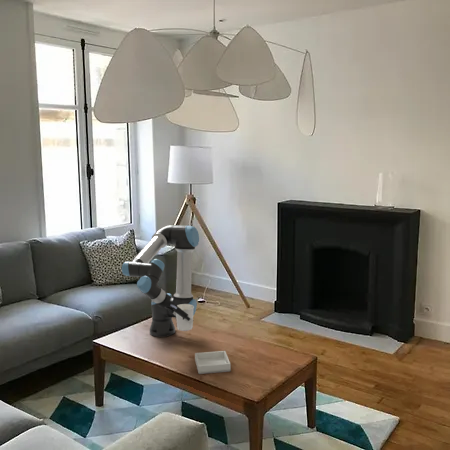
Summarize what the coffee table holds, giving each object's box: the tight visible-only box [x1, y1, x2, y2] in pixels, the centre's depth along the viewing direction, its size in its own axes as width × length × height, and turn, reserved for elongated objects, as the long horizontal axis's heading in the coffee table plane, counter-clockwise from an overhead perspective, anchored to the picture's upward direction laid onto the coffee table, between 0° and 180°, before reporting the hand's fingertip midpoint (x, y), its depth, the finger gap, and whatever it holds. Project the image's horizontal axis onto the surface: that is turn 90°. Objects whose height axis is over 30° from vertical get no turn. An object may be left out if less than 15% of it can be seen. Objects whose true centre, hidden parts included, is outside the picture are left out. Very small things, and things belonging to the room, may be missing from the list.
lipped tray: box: [194, 350, 232, 375], centre depth 265 cm, size 16×16×4 cm
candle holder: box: [175, 304, 194, 332], centre depth 280 cm, size 10×10×12 cm
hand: (186, 320), depth 281 cm, fingers closed on candle holder, 9 cm apart
